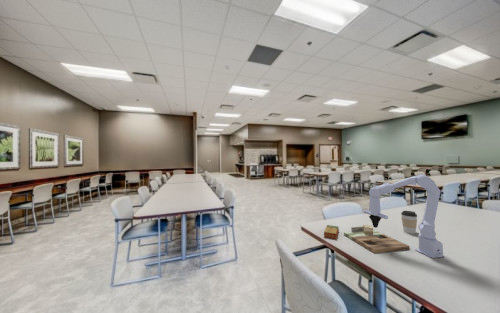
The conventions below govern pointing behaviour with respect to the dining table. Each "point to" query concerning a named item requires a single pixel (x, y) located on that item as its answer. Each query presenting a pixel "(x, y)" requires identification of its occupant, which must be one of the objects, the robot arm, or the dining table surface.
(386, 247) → the board
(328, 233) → the carton
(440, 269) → the dining table surface
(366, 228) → the block
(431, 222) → the robot arm
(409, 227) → the coffee cup
